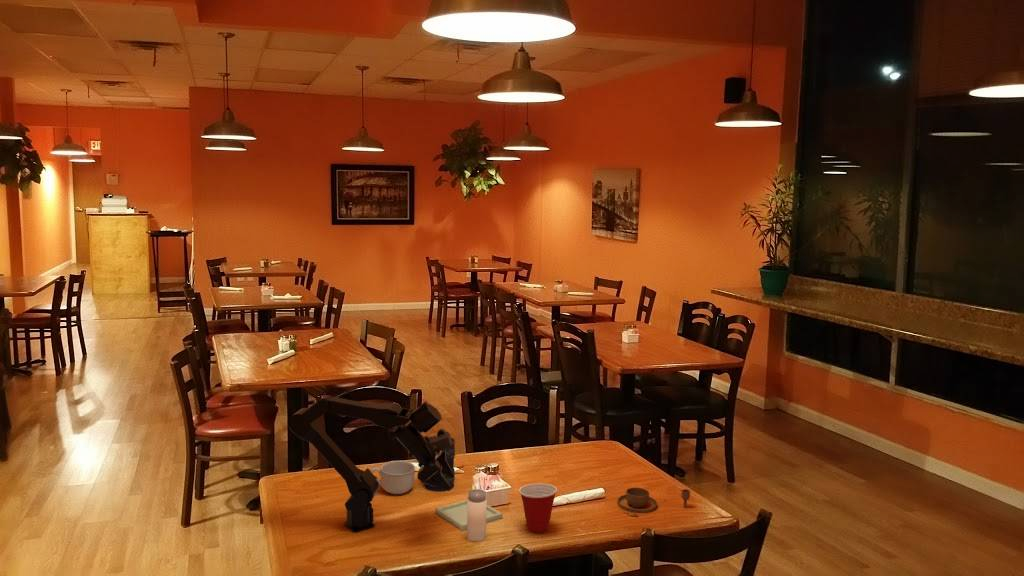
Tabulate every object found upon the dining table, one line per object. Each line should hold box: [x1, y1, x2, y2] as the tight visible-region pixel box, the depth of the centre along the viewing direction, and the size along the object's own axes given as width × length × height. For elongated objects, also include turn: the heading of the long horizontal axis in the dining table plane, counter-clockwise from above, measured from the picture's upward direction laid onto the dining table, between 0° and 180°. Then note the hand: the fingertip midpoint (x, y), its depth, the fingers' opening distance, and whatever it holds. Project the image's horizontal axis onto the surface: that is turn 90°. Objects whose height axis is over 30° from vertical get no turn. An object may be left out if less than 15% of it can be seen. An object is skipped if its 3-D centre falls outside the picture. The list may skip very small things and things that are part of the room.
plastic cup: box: [518, 482, 558, 534], centre depth 218 cm, size 11×11×12 cm
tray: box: [435, 499, 503, 532], centre depth 226 cm, size 14×14×2 cm
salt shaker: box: [466, 488, 488, 542], centre depth 212 cm, size 5×5×13 cm
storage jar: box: [423, 435, 456, 493], centre depth 247 cm, size 10×10×15 cm
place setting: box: [617, 487, 691, 518], centre depth 235 cm, size 18×20×6 cm
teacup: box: [370, 460, 416, 495], centre depth 243 cm, size 14×11×8 cm
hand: (451, 483), depth 215 cm, fingers open, 9 cm apart
